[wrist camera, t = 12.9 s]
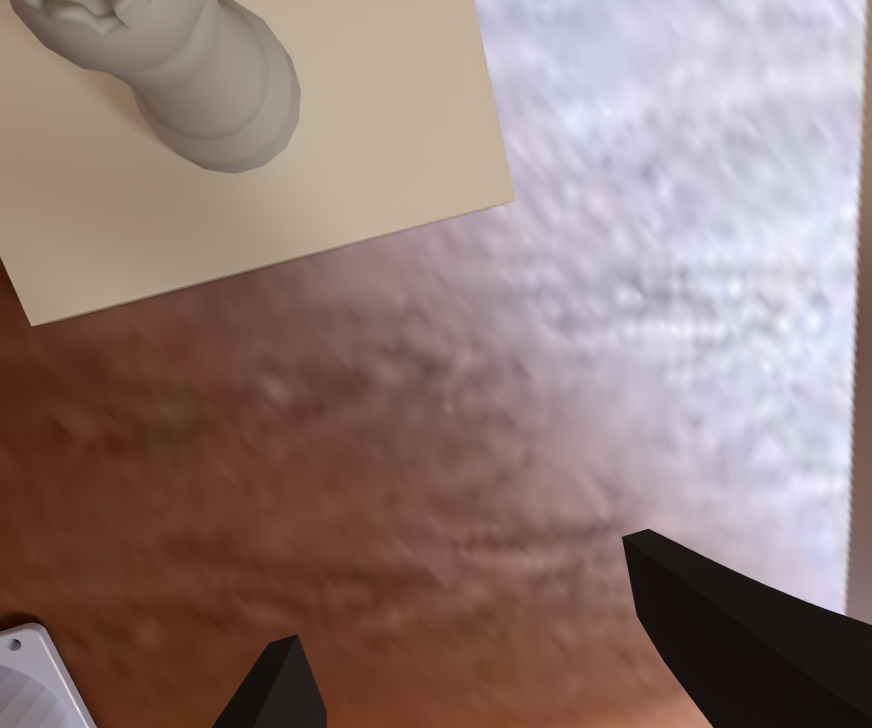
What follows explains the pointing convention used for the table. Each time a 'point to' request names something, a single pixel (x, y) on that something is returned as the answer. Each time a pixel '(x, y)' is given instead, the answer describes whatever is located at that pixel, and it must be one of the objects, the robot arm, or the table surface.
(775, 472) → the table surface
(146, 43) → the rook chess piece
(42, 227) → the cream tile
